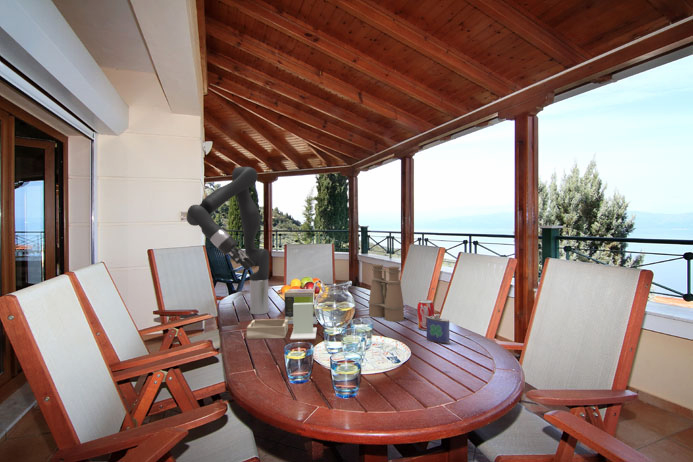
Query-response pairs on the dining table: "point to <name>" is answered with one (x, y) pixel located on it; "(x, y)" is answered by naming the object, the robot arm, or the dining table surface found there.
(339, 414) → the dining table surface
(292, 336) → the grey mat
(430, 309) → the soda can
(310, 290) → the grey electronic device
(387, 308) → the binoculars
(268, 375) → the dining table surface
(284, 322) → the wooden box
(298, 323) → the cover plate
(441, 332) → the flask
